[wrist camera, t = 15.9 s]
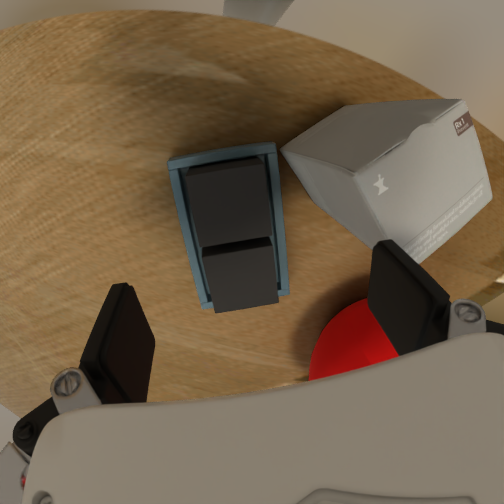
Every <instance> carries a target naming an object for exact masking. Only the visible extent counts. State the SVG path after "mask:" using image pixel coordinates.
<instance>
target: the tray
mask: <svg viewBox="0 0 504 504" xmlns="http://www.w3.org/2000/svg"><path fill="white" fill-rule="evenodd" d="M276 152H277V149H276V144H275V143H273V142H272V141H269V142H261V143H253V144H246V145H239V146H233V147H226V148H220V149H214V150H208V151H203V152H197V153H192V154H187V155H182V156H177V157H172V158H170V159H169V160H168V161H167V165H168V170H169V175H170V180H171V185H172V190H173V194H174V199H175V203H176V208H177V212H178V217H179V221H180V225H181V230H182V234H183V238H184V242H185V246H186V250H187V254H188V258H189V262H190V266H191V270H192V274H193V277H194V281H195V285H196V289H197V292H198V296H199V300H200V303H201V307H202V309H208V308H214V307H213V303H212V299H211V295H210V291H209V287H208V283H207V278H206V274H205V270H204V266H203V262H202V247H201V248H200V246H199V242H198V237H197V233H196V228H195V224H194V219H193V214H192V209H191V205H190V200H189V195H188V190H187V185H186V180H185V176H186V173H187V171H188V169H189V167H193V166H198V165H203V164H209V163H215V162H221V161H227V160H233V159H240V158H246V157H253V156H257V157H258V158H259V159H260V160H261V161H262V162H263V163H264V165H265V173H266V181H267V190H268V199H269V208H270V217H271V226H272V236H269V237H270V240H271V242H272V244H273V249H274V259H275V269H276V278H277V289H278V297H279V296H284V295H289V294H290V290H289V276H288V263H287V251H286V239H285V228H284V217H283V206H282V196H281V186H280V176H279V167H278V157H277V153H276Z"/></svg>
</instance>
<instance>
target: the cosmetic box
mask: <svg viewBox="0 0 504 504" xmlns="http://www.w3.org/2000/svg"><path fill="white" fill-rule="evenodd" d="M280 152H281V153H282V155H283V156H284V158H285V159H286V161H287V162H288V164H289V165H290V167H291V168H292V170H293V171H294V173H295V174H296V176H297V177H298V179H299V180H300V182H301V183H302V185H303V187H304V188H305V190H306V191H307V193H308V194H309V196H310V197H311V199H312V201H313V202H314V203H315V204H316V205H317V206H319V207H320V208H321V209H322V210H324V211H325V212H326V213H327V214H329V215H330V216H331V217H333V218H334V219H335V220H336V221H337V222H339V223H340V224H341V225H342V226H344V227H345V228H346V229H347V230H349V231H350V232H351V233H352V234H353V235H355V236H356V237H357V238H358V239H360V240H361V241H362V242H363V243H364V244H366V245H367V246H368V247H369V248H370V249H372V250H373V247H374V246H375V245H376V244H377V242H378V241H382V240H388V239H392V240H393V241H394V242H395V243H396V244H398V245H399V246H400V247H401V248H402V249H403V250H404V251H405V252H406V253H407V254H408V255H409V256H410V257H411V258H413V259H414V260H415V261H416V262H417V263H418V264H420V263H421V262H422V261H423V260H425V259H426V258H427V257H428V256H429V255H431V254H432V253H433V252H434V251H435V250H437V249H438V248H439V247H440V246H441V245H443V244H444V243H445V242H446V241H447V240H448V239H450V238H451V237H452V236H453V235H454V234H455V233H456V232H458V231H459V230H460V229H461V228H462V227H463V226H464V225H465V224H466V223H467V222H468V221H470V220H471V219H472V218H473V217H474V216H475V215H476V214H477V213H478V212H479V211H480V210H481V209H482V208H483V207H484V206H485V205H486V204H487V203H488V202H489V201H490V200H492V192H491V187H490V182H489V178H488V174H487V170H486V166H485V162H484V158H483V155H482V151H481V148H480V144H479V141H478V138H477V134H476V131H475V128H474V125H473V122H472V119H471V117H470V114H469V111H468V108H467V106H466V103H465V101H464V100H462V99H425V100H406V101H389V102H377V103H366V104H357V105H345V106H344V107H342V108H340V109H339V110H337V111H336V112H334V113H332V114H331V115H329V116H328V117H326V118H325V119H323V120H321V121H320V122H318V123H317V124H315V125H314V126H312V127H311V128H309V129H308V130H306V131H305V132H303V133H302V134H300V135H299V136H297V137H296V138H294V139H293V140H291V141H290V142H288V143H287V144H286V145H284V146H283V147H281V148H280Z"/></svg>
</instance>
